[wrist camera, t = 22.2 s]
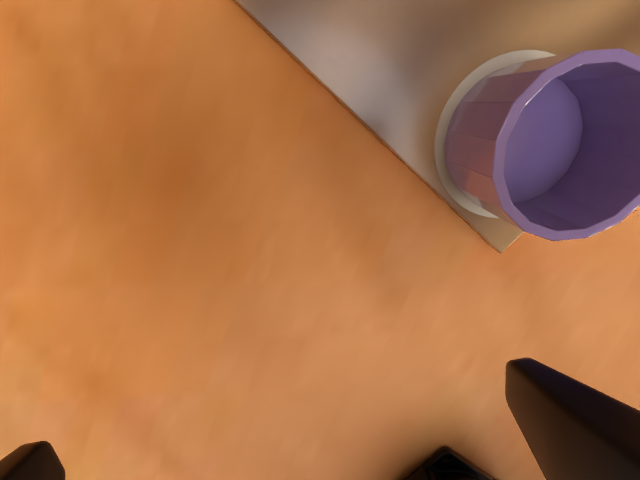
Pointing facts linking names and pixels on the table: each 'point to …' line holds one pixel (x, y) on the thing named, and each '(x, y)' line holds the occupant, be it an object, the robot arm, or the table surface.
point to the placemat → (434, 64)
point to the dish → (552, 143)
